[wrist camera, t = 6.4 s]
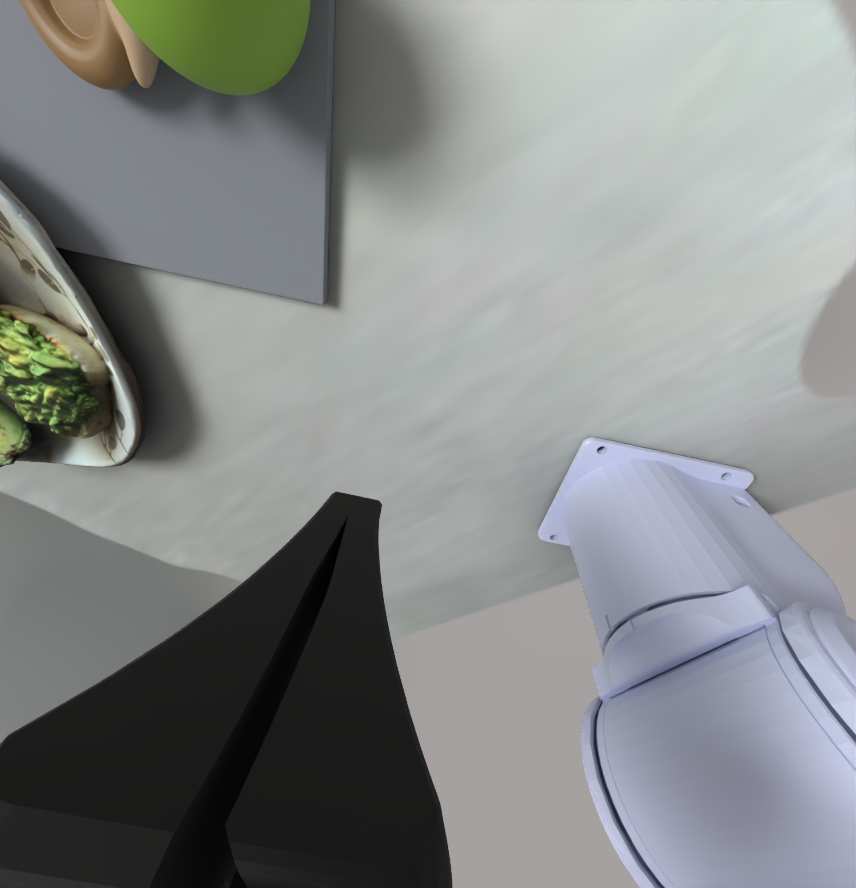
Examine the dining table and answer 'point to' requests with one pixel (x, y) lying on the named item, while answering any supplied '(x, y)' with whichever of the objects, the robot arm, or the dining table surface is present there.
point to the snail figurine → (174, 40)
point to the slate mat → (176, 164)
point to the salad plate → (58, 358)
